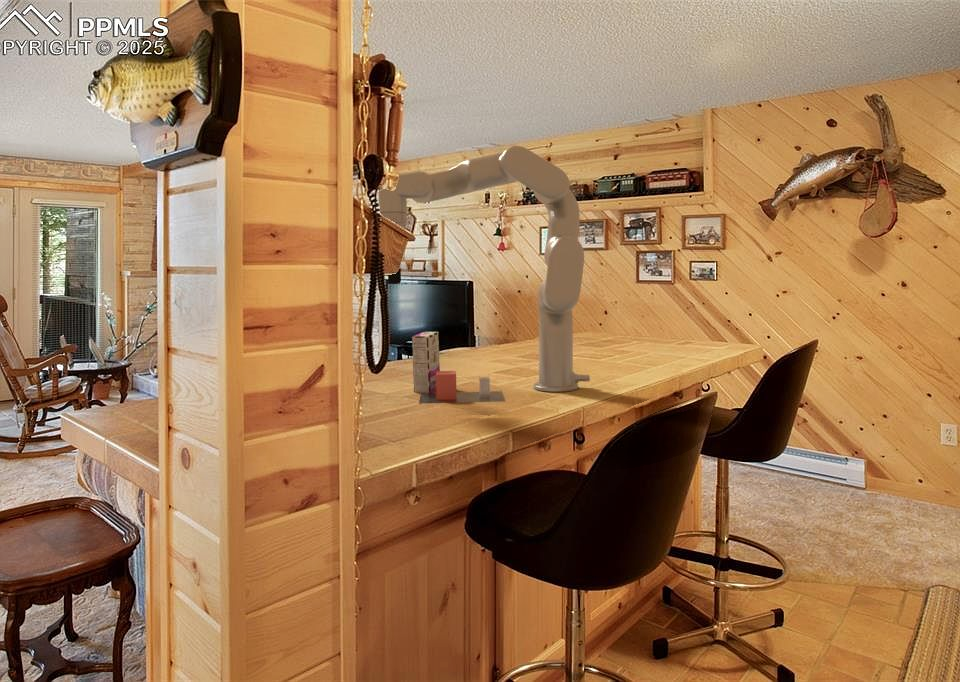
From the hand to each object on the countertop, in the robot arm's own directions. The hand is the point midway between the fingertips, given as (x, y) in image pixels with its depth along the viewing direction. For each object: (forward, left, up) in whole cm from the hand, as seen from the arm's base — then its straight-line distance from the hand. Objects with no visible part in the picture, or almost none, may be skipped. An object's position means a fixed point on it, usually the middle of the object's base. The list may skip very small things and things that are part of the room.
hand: (394, 283), depth 179 cm
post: (-18, +13, -31) cm, 38 cm away
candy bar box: (-8, 0, -31) cm, 32 cm away
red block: (-14, +12, -30) cm, 35 cm away
